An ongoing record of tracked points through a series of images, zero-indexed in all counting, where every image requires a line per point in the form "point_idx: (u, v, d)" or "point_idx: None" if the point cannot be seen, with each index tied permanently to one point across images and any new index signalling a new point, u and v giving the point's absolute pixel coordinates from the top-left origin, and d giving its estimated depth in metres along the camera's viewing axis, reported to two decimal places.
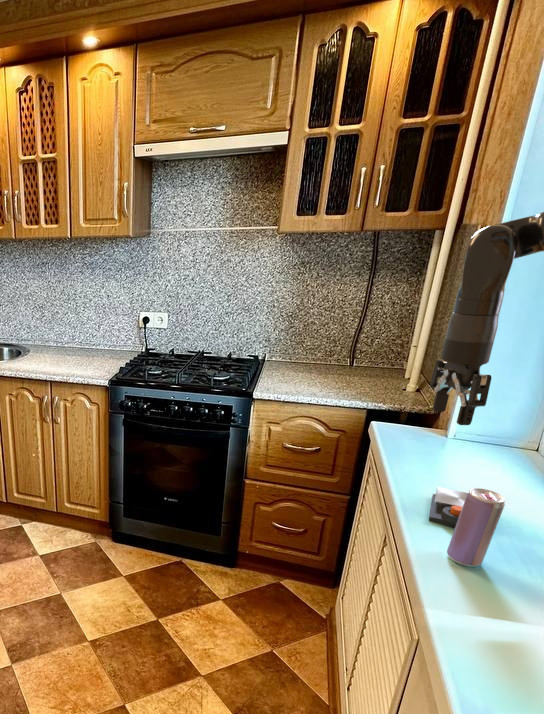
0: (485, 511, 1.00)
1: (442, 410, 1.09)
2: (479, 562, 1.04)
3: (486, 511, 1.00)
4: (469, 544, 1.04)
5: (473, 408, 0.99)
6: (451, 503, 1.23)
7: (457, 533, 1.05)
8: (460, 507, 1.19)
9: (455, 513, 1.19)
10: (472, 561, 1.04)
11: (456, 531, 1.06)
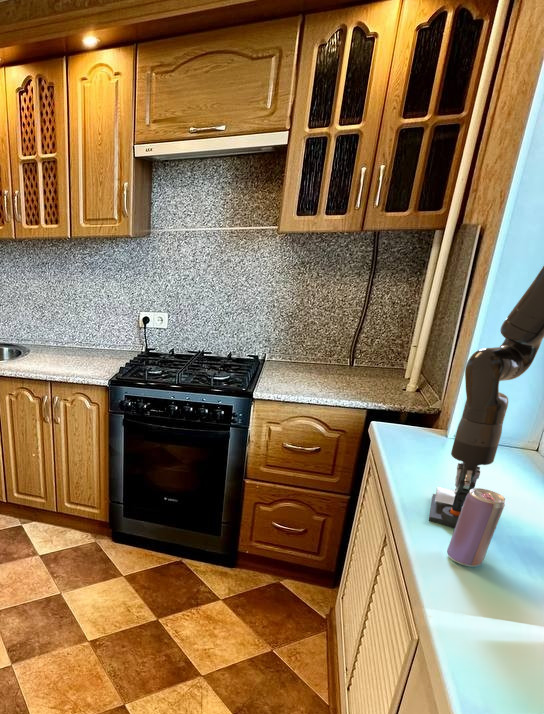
0: (485, 511, 1.00)
1: (460, 509, 1.19)
2: (479, 562, 1.04)
3: (486, 511, 1.00)
4: (469, 544, 1.04)
5: (463, 498, 1.17)
6: (451, 503, 1.23)
7: (457, 533, 1.05)
8: None
9: None
10: (472, 561, 1.04)
11: (456, 531, 1.06)
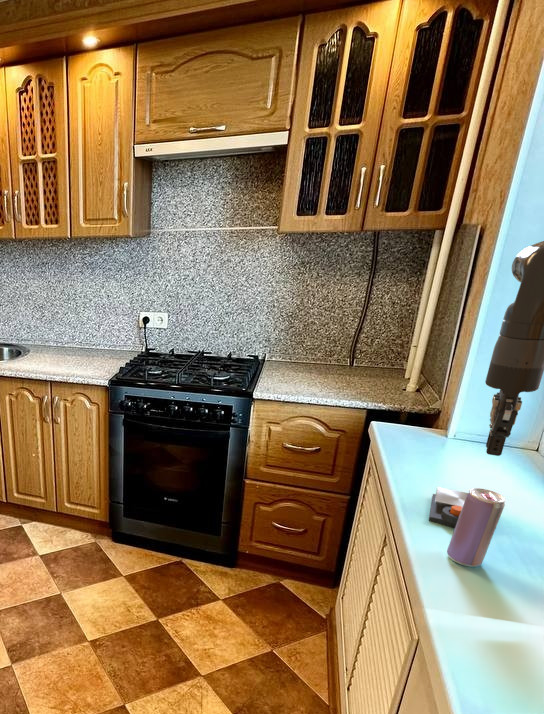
0: (485, 511, 1.00)
1: None
2: (479, 562, 1.04)
3: (486, 511, 1.00)
4: (469, 544, 1.04)
5: (501, 438, 0.96)
6: (451, 503, 1.23)
7: (457, 533, 1.05)
8: (460, 507, 1.19)
9: (455, 513, 1.19)
10: (472, 561, 1.04)
11: (456, 531, 1.06)
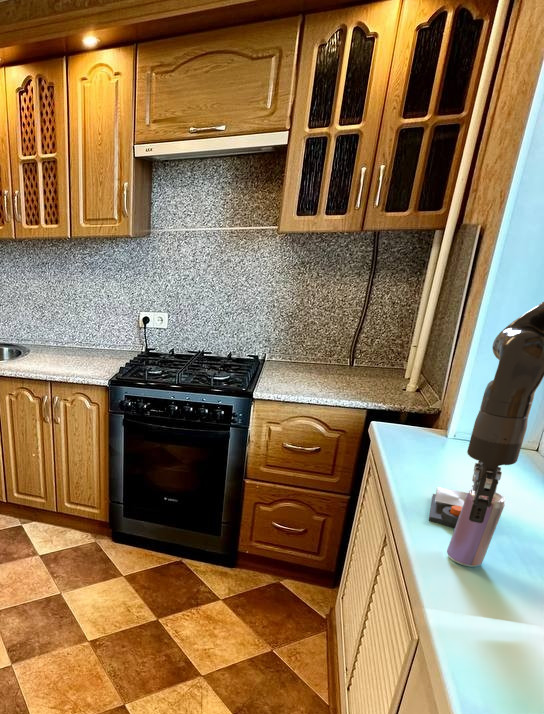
0: None
1: None
2: (479, 562, 1.04)
3: (486, 511, 1.00)
4: (469, 544, 1.04)
5: (482, 507, 0.99)
6: (451, 503, 1.23)
7: (457, 533, 1.05)
8: (460, 507, 1.19)
9: (455, 513, 1.19)
10: (472, 561, 1.04)
11: (456, 531, 1.06)
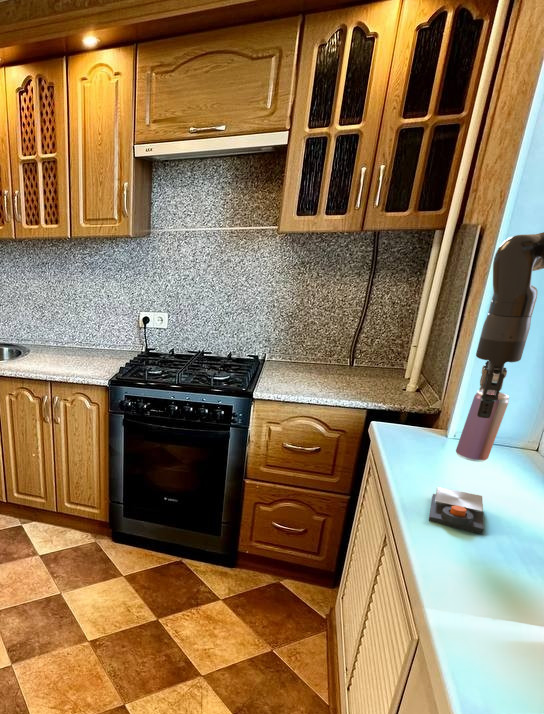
0: None
1: None
2: (485, 457, 1.16)
3: None
4: (476, 439, 1.15)
5: (490, 402, 1.10)
6: (451, 503, 1.23)
7: (465, 431, 1.17)
8: (460, 507, 1.19)
9: (455, 513, 1.19)
10: (479, 456, 1.15)
11: (465, 429, 1.17)
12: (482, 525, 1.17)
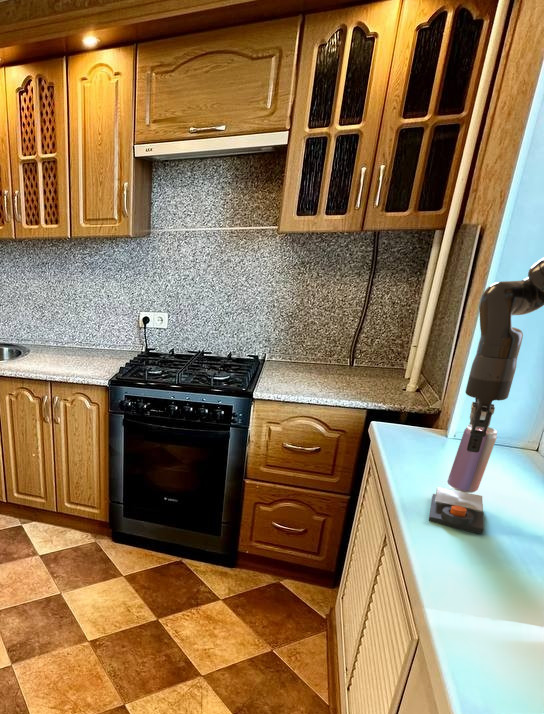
0: None
1: None
2: (475, 488, 1.21)
3: None
4: (466, 472, 1.20)
5: (478, 438, 1.16)
6: (451, 503, 1.23)
7: (456, 463, 1.22)
8: (460, 507, 1.19)
9: (455, 513, 1.19)
10: (469, 487, 1.21)
11: (455, 462, 1.22)
12: (482, 525, 1.17)
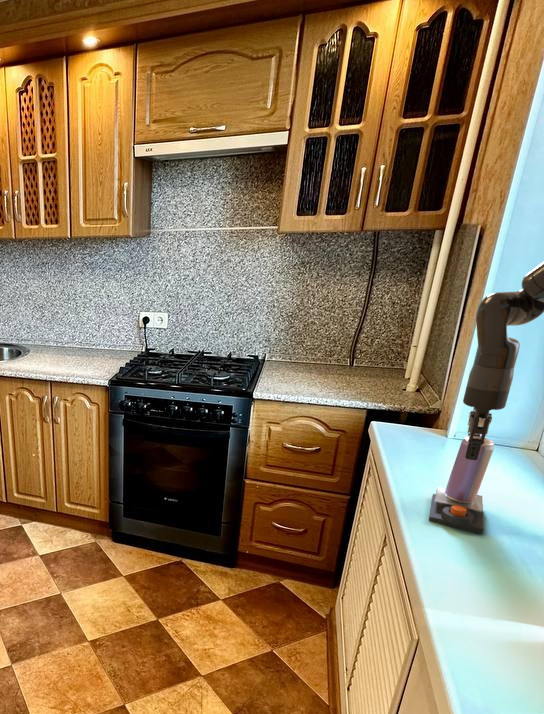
0: None
1: None
2: (472, 499, 1.22)
3: None
4: (463, 483, 1.21)
5: (476, 446, 1.15)
6: (451, 503, 1.23)
7: (453, 474, 1.23)
8: (460, 507, 1.19)
9: (455, 513, 1.19)
10: (466, 498, 1.22)
11: (453, 472, 1.23)
12: (482, 525, 1.17)
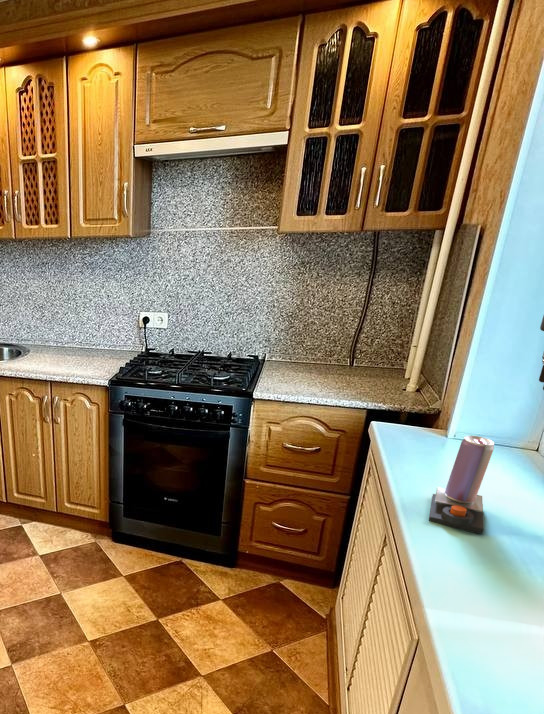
0: (477, 453, 1.18)
1: None
2: (472, 499, 1.22)
3: (478, 453, 1.18)
4: (463, 483, 1.21)
5: None
6: (451, 503, 1.23)
7: (453, 474, 1.23)
8: (460, 507, 1.19)
9: (455, 513, 1.19)
10: (466, 498, 1.22)
11: (453, 472, 1.23)
12: (482, 525, 1.17)
